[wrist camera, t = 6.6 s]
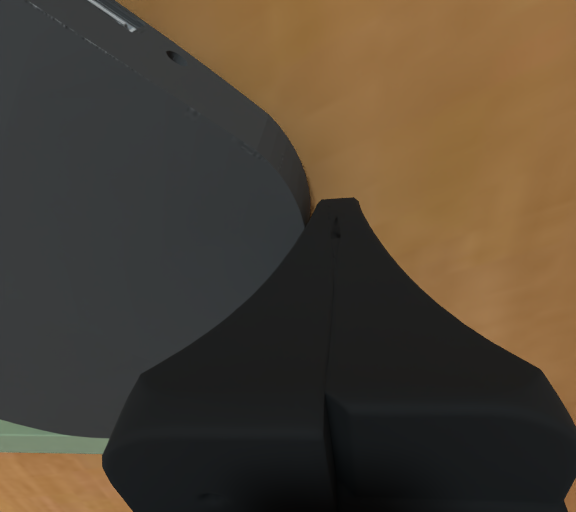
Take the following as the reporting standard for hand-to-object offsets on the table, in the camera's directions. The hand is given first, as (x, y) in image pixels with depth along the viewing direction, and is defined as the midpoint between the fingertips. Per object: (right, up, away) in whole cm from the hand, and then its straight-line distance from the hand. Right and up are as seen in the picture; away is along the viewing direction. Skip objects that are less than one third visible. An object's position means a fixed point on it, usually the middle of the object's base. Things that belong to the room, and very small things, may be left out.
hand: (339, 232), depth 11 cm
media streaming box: (-9, +1, +3) cm, 10 cm away
